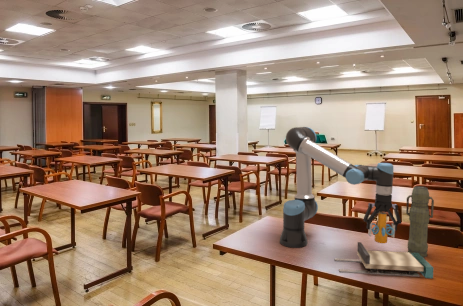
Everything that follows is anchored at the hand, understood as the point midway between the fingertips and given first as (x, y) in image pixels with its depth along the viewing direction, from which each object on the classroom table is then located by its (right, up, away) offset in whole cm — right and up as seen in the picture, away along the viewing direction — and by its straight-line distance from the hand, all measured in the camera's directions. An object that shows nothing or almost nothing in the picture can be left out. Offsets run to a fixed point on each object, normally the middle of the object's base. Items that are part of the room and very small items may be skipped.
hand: (381, 236), depth 170 cm
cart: (-4, -11, -16) cm, 20 cm away
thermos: (+18, -10, 0) cm, 21 cm away
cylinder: (0, -3, 0) cm, 3 cm away
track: (-7, -11, -15) cm, 20 cm away
